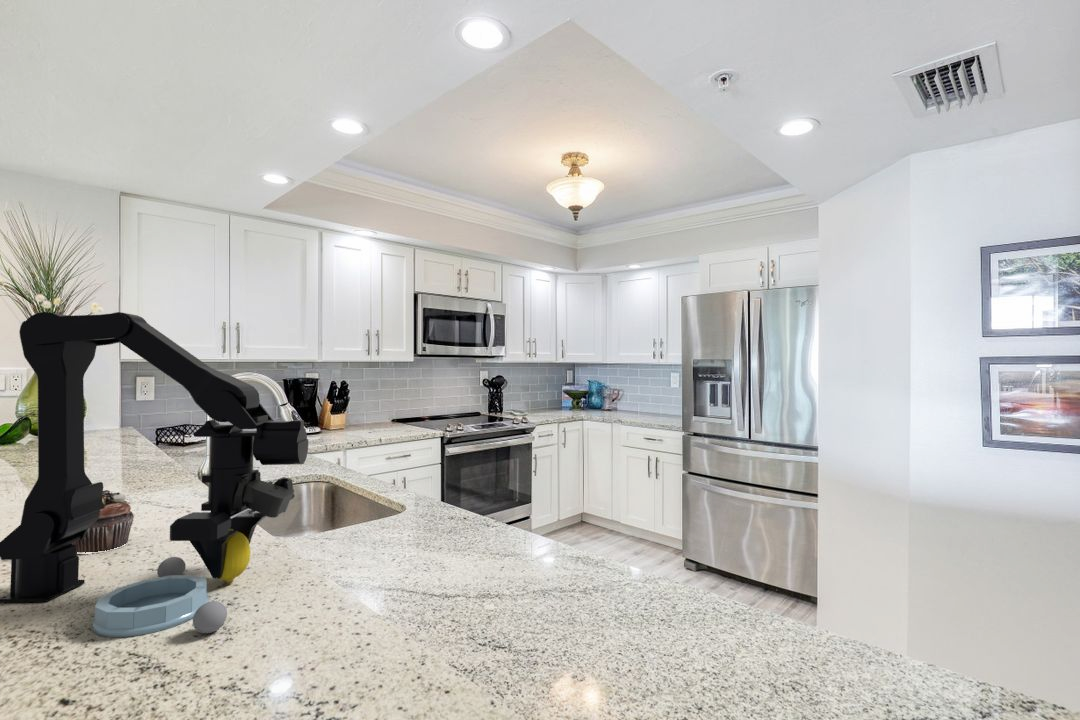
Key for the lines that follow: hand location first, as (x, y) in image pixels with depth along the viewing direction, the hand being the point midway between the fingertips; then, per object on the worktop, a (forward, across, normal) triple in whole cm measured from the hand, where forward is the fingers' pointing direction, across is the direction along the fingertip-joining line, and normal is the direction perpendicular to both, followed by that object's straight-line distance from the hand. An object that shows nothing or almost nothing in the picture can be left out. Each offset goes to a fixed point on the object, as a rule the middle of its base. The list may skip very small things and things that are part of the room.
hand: (228, 570), depth 77 cm
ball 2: (+2, -15, -6) cm, 16 cm away
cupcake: (+2, +17, +32) cm, 36 cm away
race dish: (+2, -10, +4) cm, 11 cm away
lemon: (+2, 0, 0) cm, 2 cm away
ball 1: (+2, +1, +9) cm, 9 cm away
